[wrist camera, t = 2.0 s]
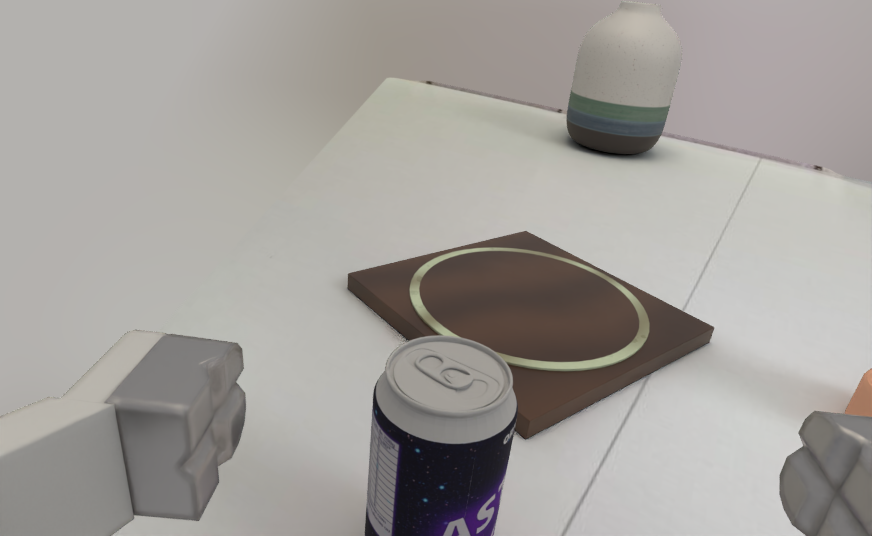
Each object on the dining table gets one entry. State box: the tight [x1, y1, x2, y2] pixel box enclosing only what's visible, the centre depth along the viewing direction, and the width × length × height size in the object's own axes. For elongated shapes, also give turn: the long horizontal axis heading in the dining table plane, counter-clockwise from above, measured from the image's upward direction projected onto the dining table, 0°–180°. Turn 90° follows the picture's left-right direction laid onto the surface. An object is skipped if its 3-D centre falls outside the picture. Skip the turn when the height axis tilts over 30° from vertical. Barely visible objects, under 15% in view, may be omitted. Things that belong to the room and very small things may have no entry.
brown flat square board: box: [348, 231, 714, 439], centre depth 51 cm, size 22×22×2 cm
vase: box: [567, 1, 682, 154], centre depth 103 cm, size 17×17×24 cm
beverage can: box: [365, 335, 518, 536], centre depth 26 cm, size 6×6×12 cm
